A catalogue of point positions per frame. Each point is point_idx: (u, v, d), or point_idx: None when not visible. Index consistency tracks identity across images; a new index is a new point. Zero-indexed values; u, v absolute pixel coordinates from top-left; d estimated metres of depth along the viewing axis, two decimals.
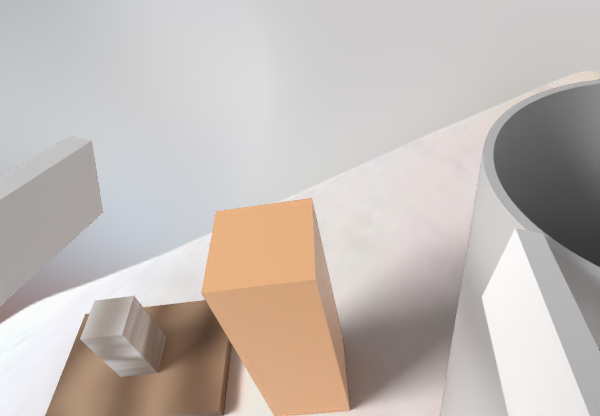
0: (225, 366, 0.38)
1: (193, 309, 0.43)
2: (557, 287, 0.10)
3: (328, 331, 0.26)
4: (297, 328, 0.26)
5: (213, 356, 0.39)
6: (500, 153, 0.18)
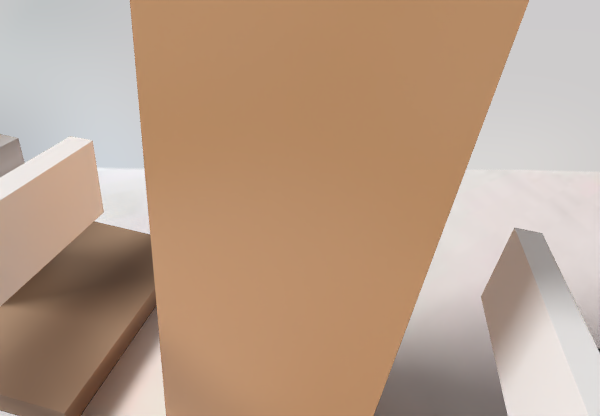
0: (122, 339, 0.20)
1: (117, 237, 0.25)
2: (556, 286, 0.10)
3: (434, 244, 0.09)
4: (356, 192, 0.08)
5: (108, 314, 0.20)
6: None
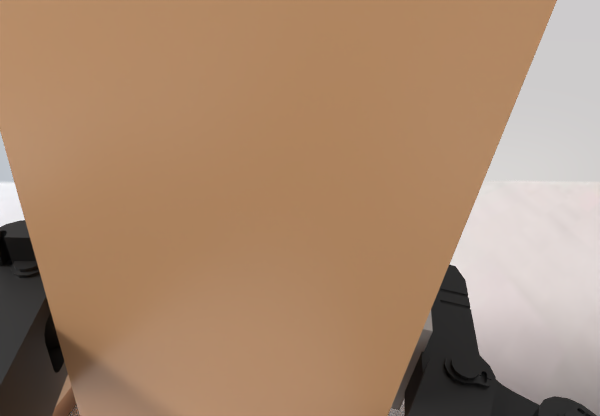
0: None
1: None
2: None
3: (410, 347, 0.06)
4: (304, 282, 0.06)
5: None
6: None
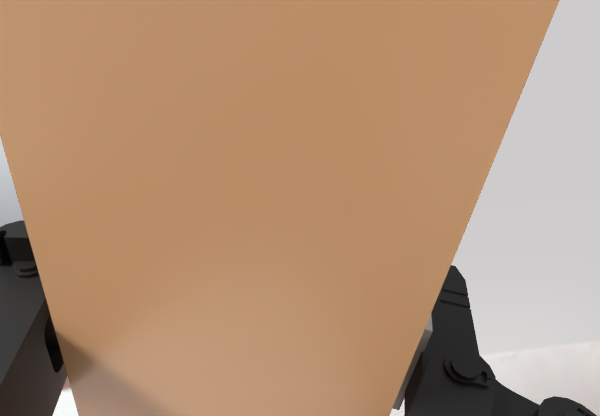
0: None
1: None
2: None
3: (411, 349, 0.06)
4: (305, 284, 0.06)
5: None
6: None
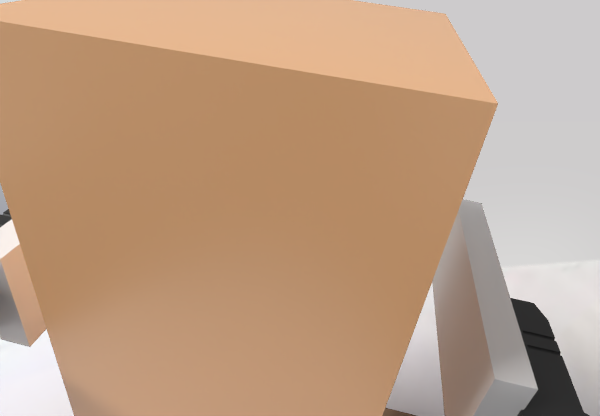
0: None
1: None
2: (483, 246, 0.11)
3: (380, 410, 0.07)
4: (284, 356, 0.07)
5: None
6: None
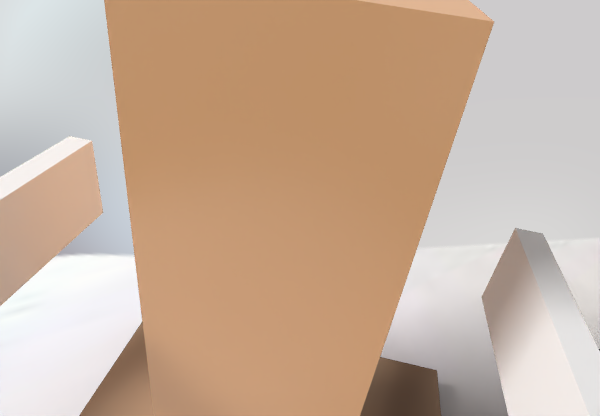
0: None
1: None
2: (557, 287, 0.10)
3: (400, 288, 0.09)
4: (327, 242, 0.09)
5: None
6: None
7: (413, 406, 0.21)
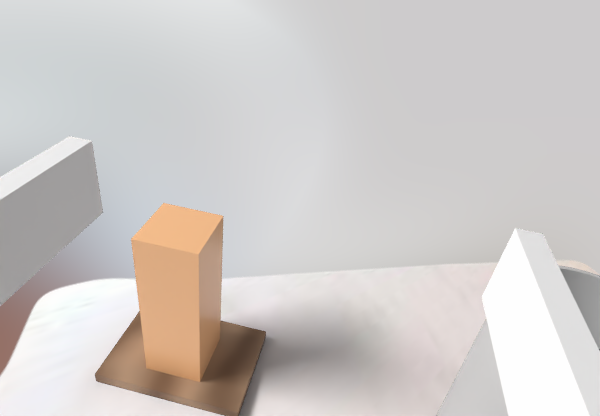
0: (249, 382, 0.48)
1: (233, 329, 0.53)
2: (557, 287, 0.10)
3: (198, 298, 0.40)
4: (180, 288, 0.40)
5: (241, 371, 0.48)
6: None
7: (249, 344, 0.52)
